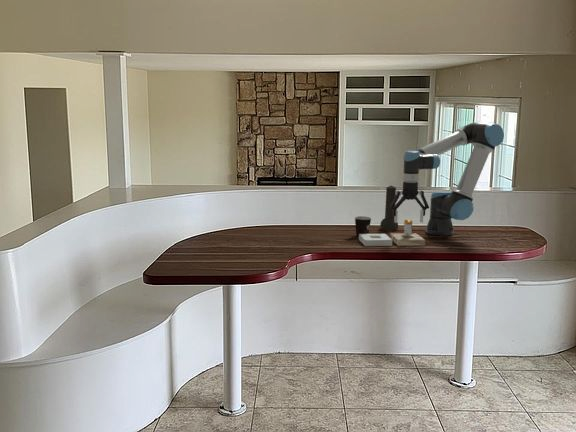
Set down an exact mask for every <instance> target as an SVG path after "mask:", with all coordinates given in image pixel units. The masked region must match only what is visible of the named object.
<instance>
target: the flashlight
mask: <svg viewBox="0 0 576 432" xmlns="http://www.w3.org/2000/svg"><path fill="white" fill-rule="evenodd" d="M385 188H386V192H385V211H384V218H383V219H382V220H381V221H380V224H379V225H380V227H379V228H380V229H381V230H382V231H388V232H389V231H392V232H394V231H398V230H399V223H398V221H397V223H395V222H394V219H395V216H393V209H391V208H390V205H391V203H392V201H393V199H394V198H395V196H396V192H397V188H396V187H395V186H393V185H388V186H387V187H385Z"/></svg>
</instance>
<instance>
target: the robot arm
mask: <svg viewBox="0 0 576 432" xmlns="http://www.w3.org/2000/svg"><path fill="white" fill-rule="evenodd" d="M504 139H505V132H504V129H503V128H502V126H501V125H500V124H499V123H494V122H483V121H475V122H470V123H468V124H466V125H464V126H461V127H459V128H457V129H456V130H455V132H454V133H453V132H452V133H451V134H449V135H447V136H444V137H443V138H440V139H438V140H435V141H433V142H432V143H430V144H429V143H428V144H427V145H425V146H423V147H420V148H418V149H416V150H407V151H405V152H404V155H403V177H402V180H403V182H402V191H400V190H396V196H395V198H394V199H393V201H392V203H391V205H390V208H391V209H393V216H394V222H395V223H397V222H398V219H399V217H398V216H399V215H398V213H399V210H398V208H399V207H400V206H402V204H403V203H404V202H405V201H409V200H415V201H416V203H417V204H418V205H419V206H420V215H419V222H420V223H424V216H426V211H427V210H428V209H429V219H428V221H427V224H426V227H425V232H426V234H428V235H429V234H430V235H434V236H451V235H453V234H455V233H454V231H455V230H454V229H455V228H454V225H453V221H452V219H453V220H457V221H465V220H467V219H469V218H470V217H471V216H472V214H473V213H474V203H473V201H474V197H473V193H474V191H475V188H476V186H477V183H478V182H479V178H480V176H481V174H482V171H483V169H484V166H485V164H486V163H487V160H488V157H489V155H490V153H493V152H494V151H495V149H496V147H498V146H500V145H501V144H502V143H503V142H504ZM469 144H472V146H473V149H472V151H471V153H470V155H469V158H468V161H467V163H466V165H465V167H464V169H463V172H462V175H461V176H460V179H459V182H458V184H457V186H456V188H455V189H453V190H452V191H434V192H432V193H431V197H430V206H429V203H428V201H427V199H426V197H425V192H424V190H419V189H418V188H419V182H418V181H419V173H420V170H436V169H438V168H439V167H440V165H441V158H440V155H442V154H445V153H447V152H449V151H451V150H453V149H455V148H457V147H460V146H467V145H469ZM418 195H419V196H420V198H421V200H422V202H423V203H422V202H421V201H420V199H419V198H418ZM400 196H401V198H400ZM399 198H400V199H399ZM398 199H399V201H398Z"/></svg>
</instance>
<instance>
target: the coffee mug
mask: <svg viewBox="0 0 576 432" xmlns="http://www.w3.org/2000/svg"><path fill="white" fill-rule="evenodd" d="M371 221H372V218H371V217H370V216H363V215H362V216H355V217H354V224H355V225H354V226H355V236H356V237H358V238H359V234H370V228H371Z"/></svg>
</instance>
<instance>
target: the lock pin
mask: <svg viewBox="0 0 576 432" xmlns="http://www.w3.org/2000/svg"><path fill="white" fill-rule="evenodd" d="M403 225H404V226H403V227H404V228H403V234H404V238H411V235H412V232H413V220H412V219H404V223H403Z"/></svg>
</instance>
